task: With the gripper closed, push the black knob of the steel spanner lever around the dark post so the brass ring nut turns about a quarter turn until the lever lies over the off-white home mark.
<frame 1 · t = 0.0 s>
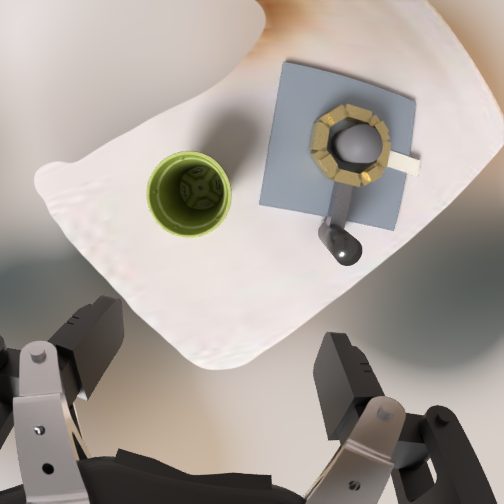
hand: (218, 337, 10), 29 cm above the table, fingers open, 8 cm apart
plant pot: (202, 187, 37), on the table
hub board: (343, 146, 35), on the table
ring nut: (351, 179, 31), point 6 cm above the table, hinge at 0.0°
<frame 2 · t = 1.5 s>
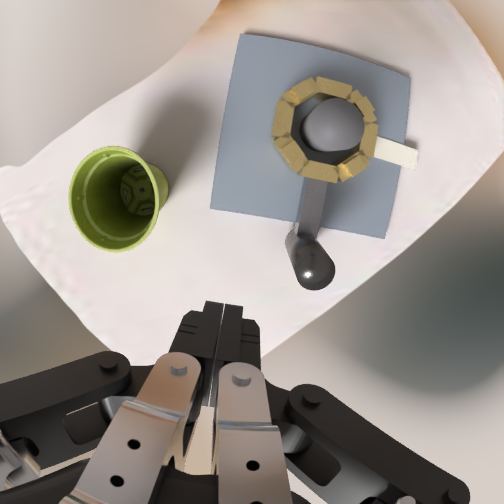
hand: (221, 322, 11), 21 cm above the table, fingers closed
plant pot: (145, 189, 30), on the table
hub board: (317, 132, 28), on the table
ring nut: (323, 173, 24), point 6 cm above the table, hinge at 0.0°
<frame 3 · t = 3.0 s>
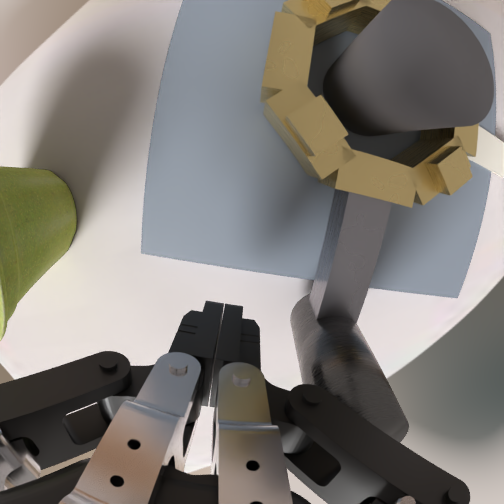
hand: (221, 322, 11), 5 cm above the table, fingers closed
plant pot: (47, 213, 15), on the table
hub board: (356, 99, 13), on the table
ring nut: (394, 184, 9), point 6 cm above the table, hinge at 0.0°, touching hand
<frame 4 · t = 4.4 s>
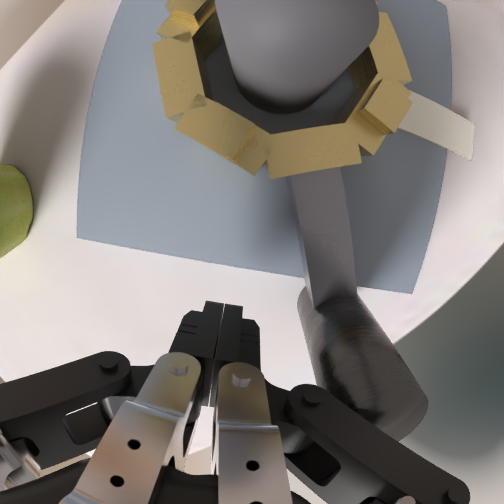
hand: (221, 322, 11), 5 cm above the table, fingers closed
plant pot: (12, 204, 15), on the table
hub board: (278, 80, 13), on the table
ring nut: (322, 149, 8), point 6 cm above the table, hinge at 22.4°, touching hand
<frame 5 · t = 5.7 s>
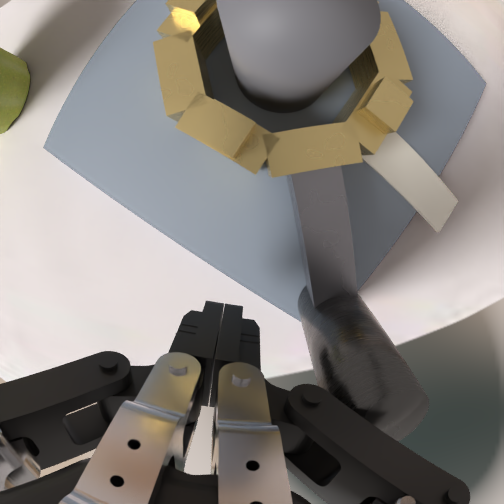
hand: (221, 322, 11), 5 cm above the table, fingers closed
plant pot: (9, 96, 12), on the table
hub board: (279, 79, 13), on the table
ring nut: (323, 148, 8), point 6 cm above the table, hinge at 47.1°, touching hand
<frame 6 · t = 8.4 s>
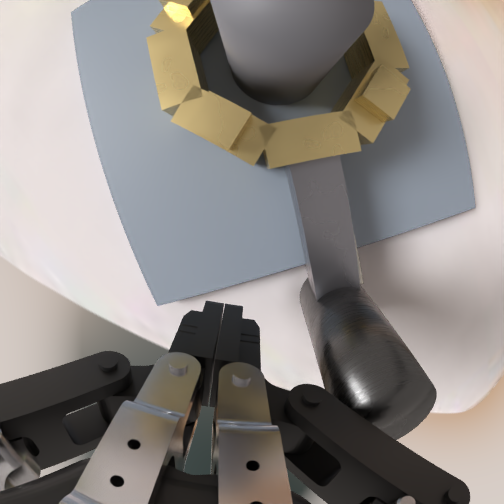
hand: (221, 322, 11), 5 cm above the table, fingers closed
hub board: (274, 71, 12), on the table
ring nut: (320, 137, 8), point 6 cm above the table, hinge at 86.2°, touching hand
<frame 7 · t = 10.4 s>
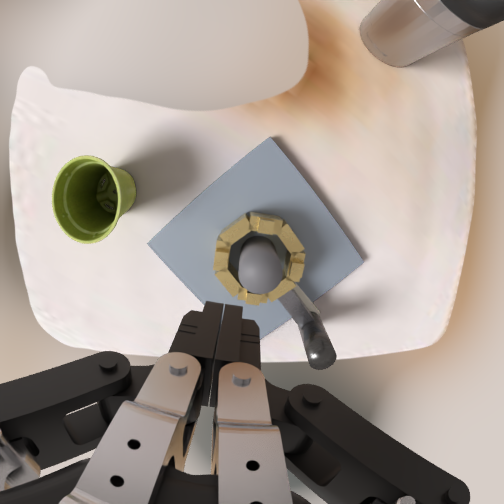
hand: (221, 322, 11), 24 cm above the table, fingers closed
plant pot: (117, 191, 34), on the table
hub board: (257, 250, 36), on the table
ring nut: (281, 294, 32), point 6 cm above the table, hinge at 86.2°
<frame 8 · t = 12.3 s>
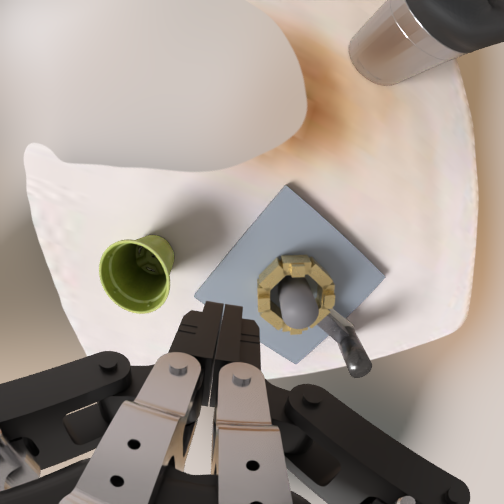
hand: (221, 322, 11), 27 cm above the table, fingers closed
plant pot: (155, 254, 39), on the table
hub board: (292, 284, 40), on the table
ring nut: (319, 322, 36), point 6 cm above the table, hinge at 86.2°
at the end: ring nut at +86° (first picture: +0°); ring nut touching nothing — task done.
